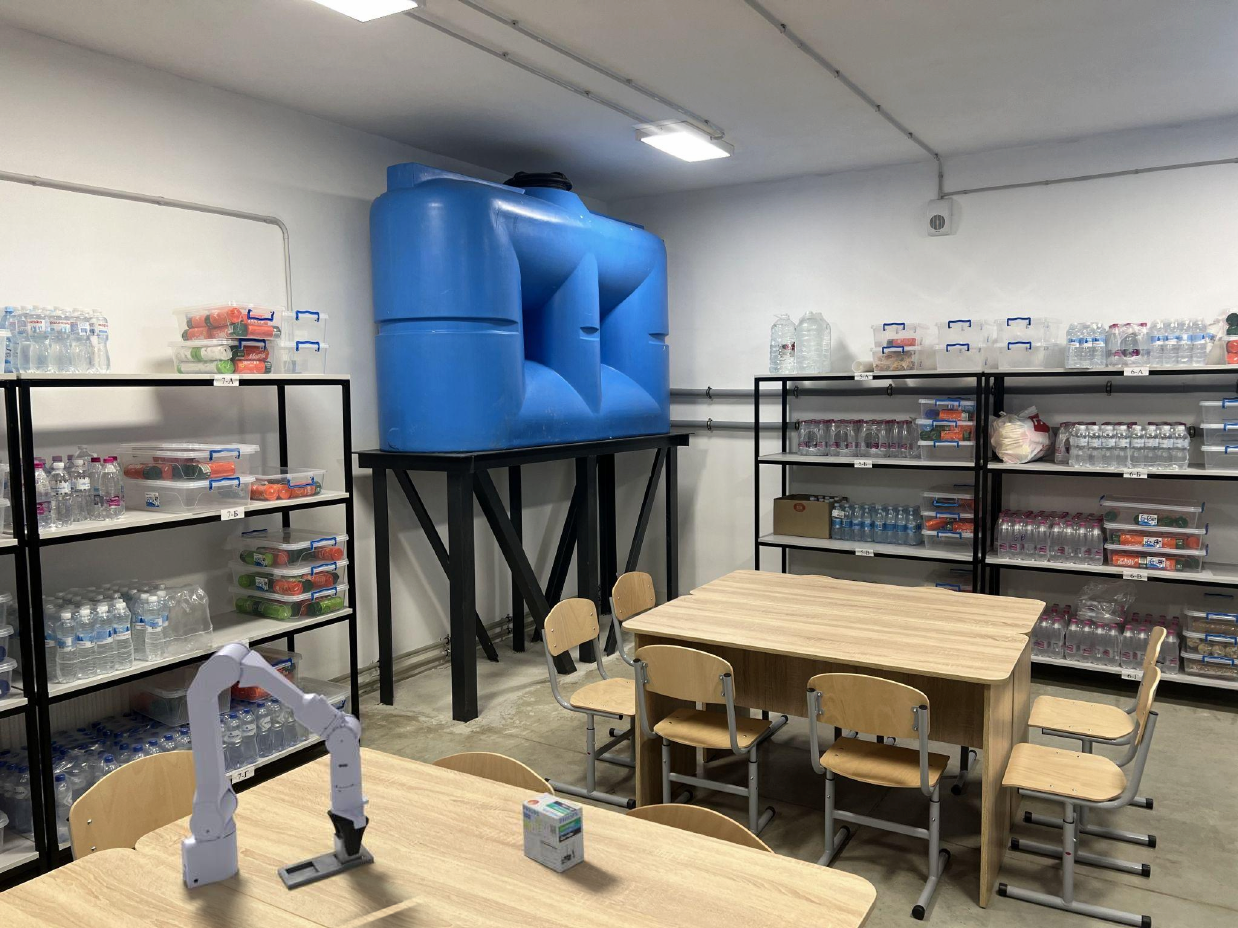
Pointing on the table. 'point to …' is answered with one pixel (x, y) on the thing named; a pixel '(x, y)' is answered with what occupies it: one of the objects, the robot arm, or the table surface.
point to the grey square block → (343, 850)
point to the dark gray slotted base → (319, 868)
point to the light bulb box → (553, 831)
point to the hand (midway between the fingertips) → (349, 849)
